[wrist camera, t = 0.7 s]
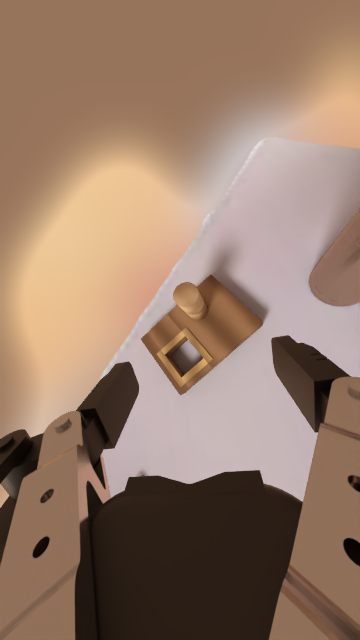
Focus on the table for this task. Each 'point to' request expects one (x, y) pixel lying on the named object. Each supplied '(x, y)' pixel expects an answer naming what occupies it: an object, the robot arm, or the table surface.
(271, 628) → the robot arm
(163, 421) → the table surface
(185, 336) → the pin board
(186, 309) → the pin
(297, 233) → the table surface
